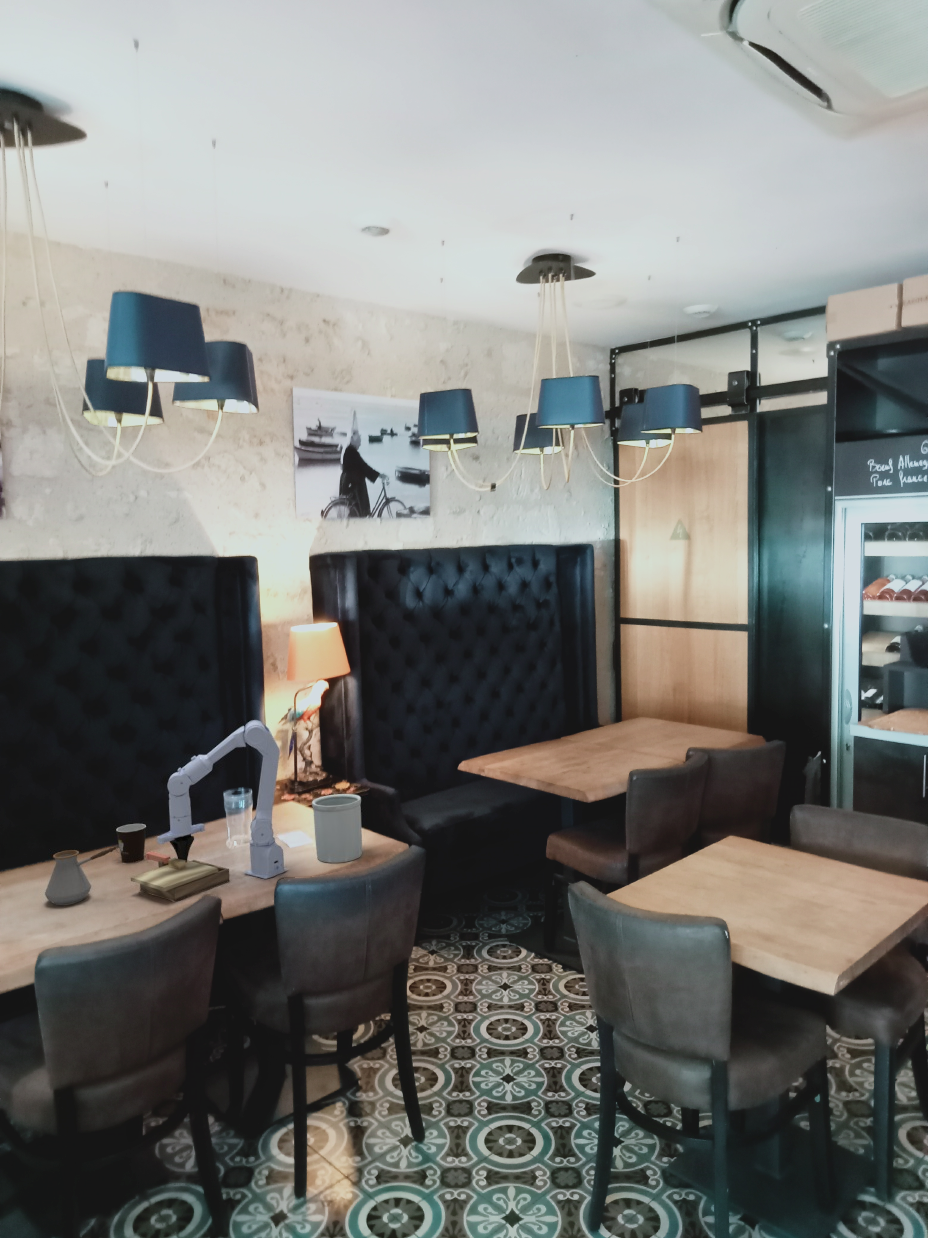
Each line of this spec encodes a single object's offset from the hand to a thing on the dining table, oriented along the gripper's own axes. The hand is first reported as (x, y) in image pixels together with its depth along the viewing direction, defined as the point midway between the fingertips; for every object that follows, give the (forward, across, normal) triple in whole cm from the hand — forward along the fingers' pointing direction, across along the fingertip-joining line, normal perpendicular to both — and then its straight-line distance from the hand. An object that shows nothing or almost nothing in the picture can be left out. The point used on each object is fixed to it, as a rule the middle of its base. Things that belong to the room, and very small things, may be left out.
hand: (182, 862), depth 247 cm
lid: (+2, +5, +3) cm, 6 cm away
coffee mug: (+6, -5, -33) cm, 34 cm away
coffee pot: (+6, +23, -12) cm, 26 cm away
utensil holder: (+6, -39, +23) cm, 46 cm away
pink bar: (0, +2, -9) cm, 9 cm away
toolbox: (+6, +2, +3) cm, 7 cm away
